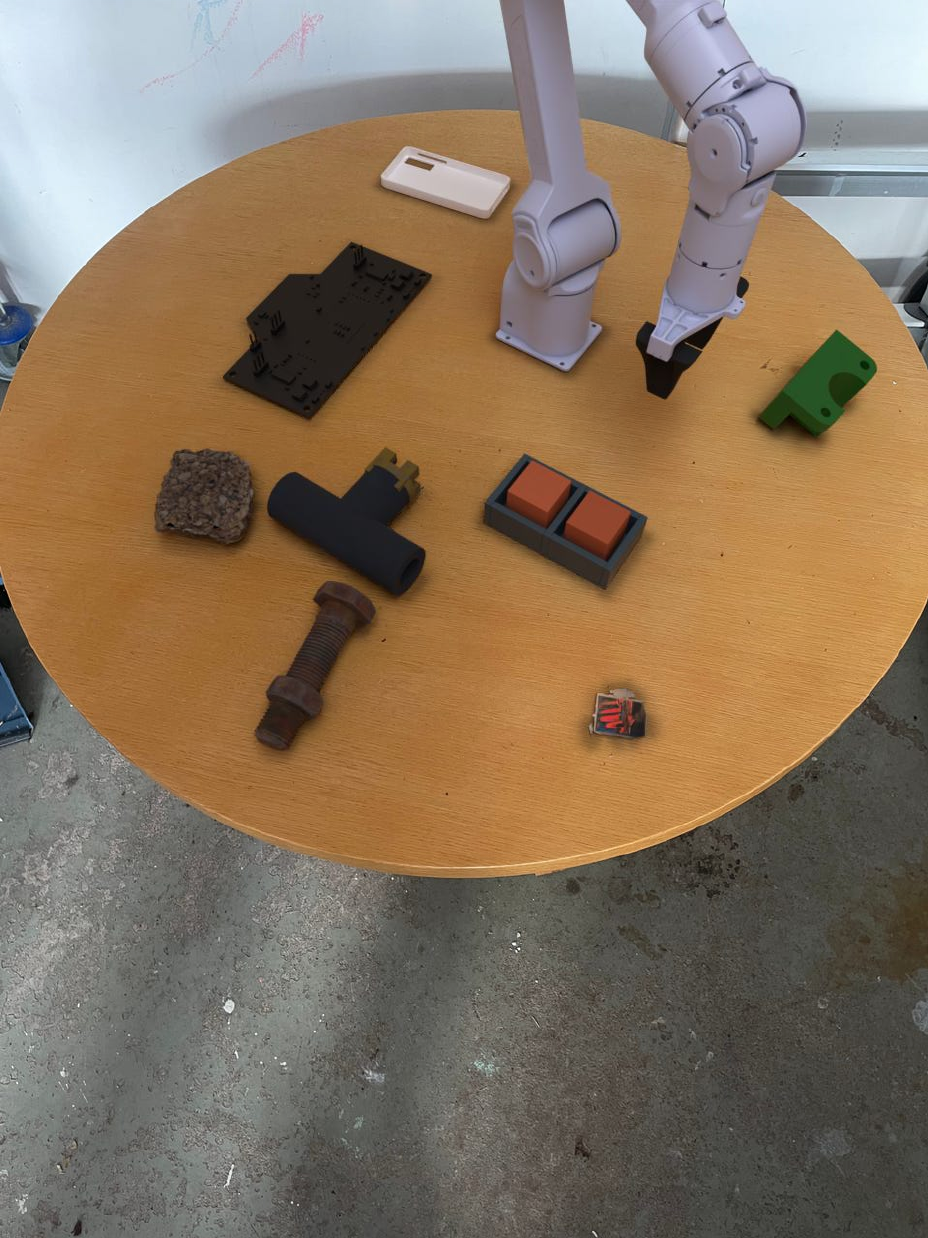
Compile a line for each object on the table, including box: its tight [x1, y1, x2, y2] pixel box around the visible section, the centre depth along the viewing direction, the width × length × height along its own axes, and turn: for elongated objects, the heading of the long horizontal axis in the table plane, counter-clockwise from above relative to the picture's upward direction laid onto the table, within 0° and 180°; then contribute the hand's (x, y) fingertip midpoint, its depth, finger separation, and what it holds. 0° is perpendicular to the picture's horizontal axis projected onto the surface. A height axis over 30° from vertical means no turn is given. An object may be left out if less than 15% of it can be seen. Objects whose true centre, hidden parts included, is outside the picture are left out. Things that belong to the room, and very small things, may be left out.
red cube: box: [563, 491, 631, 562], centre depth 81 cm, size 4×4×4 cm
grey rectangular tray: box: [483, 453, 649, 591], centre depth 83 cm, size 14×7×3 cm, turn 56°
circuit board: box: [222, 241, 433, 420], centre depth 97 cm, size 25×14×3 cm, turn 150°
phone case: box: [380, 145, 511, 220], centre depth 109 cm, size 7×1×15 cm
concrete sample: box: [153, 448, 255, 547], centre depth 83 cm, size 12×10×5 cm
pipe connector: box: [266, 446, 427, 597], centre depth 83 cm, size 12×5×15 cm
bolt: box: [254, 580, 377, 752], centre depth 75 cm, size 6×5×15 cm
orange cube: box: [506, 461, 571, 530], centre depth 83 cm, size 4×4×4 cm
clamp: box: [757, 328, 878, 438], centre depth 90 cm, size 12×6×9 cm, turn 134°
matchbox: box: [588, 687, 648, 739], centre depth 75 cm, size 5×5×1 cm
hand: (676, 368), depth 82 cm, fingers open, 7 cm apart
